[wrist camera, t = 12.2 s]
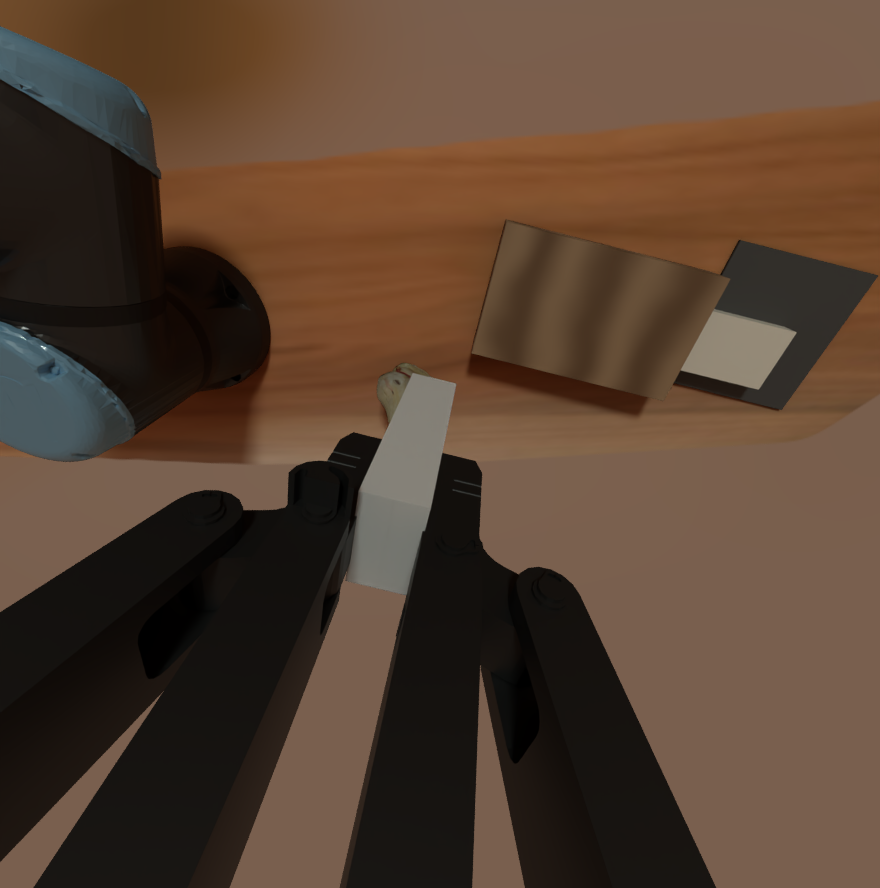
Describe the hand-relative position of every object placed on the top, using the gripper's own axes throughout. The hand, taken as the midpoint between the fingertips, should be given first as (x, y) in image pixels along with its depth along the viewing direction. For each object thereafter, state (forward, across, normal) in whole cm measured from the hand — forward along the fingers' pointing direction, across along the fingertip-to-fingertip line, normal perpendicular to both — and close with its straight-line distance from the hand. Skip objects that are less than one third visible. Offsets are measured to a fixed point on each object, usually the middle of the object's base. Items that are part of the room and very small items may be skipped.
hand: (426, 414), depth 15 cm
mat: (+32, +30, +1) cm, 44 cm away
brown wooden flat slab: (+32, +12, -1) cm, 35 cm away
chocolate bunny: (+33, -3, -14) cm, 36 cm away
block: (+32, +27, -1) cm, 42 cm away
